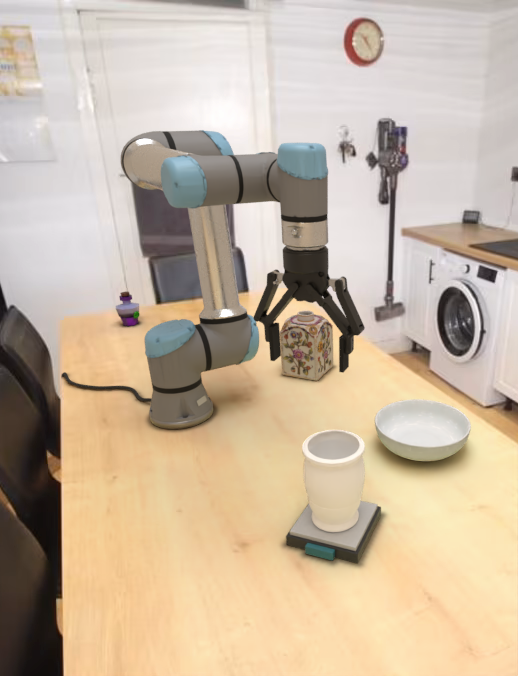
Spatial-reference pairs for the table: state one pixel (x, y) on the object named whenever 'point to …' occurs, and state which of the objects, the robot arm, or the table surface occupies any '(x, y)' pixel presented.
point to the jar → (334, 478)
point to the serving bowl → (422, 429)
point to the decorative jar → (306, 346)
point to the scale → (335, 535)
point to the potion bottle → (128, 310)
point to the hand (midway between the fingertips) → (309, 363)
